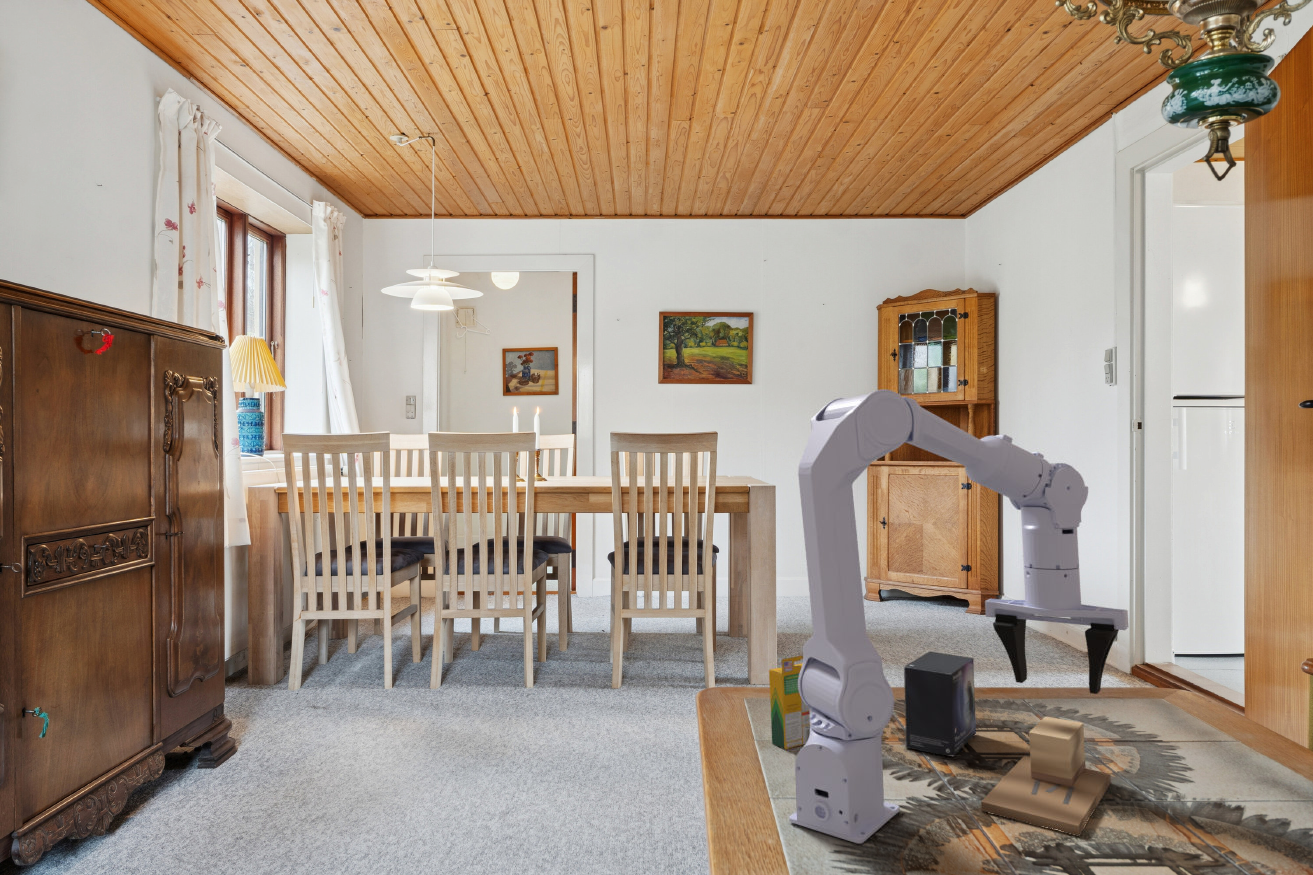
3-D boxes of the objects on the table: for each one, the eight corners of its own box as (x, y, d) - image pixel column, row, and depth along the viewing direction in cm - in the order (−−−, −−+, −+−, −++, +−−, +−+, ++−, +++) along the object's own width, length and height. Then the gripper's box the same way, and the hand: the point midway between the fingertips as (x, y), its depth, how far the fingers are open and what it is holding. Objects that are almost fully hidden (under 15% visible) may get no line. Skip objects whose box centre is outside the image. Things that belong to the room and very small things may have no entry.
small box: (956, 759, 92) (952, 672, 93) (904, 749, 96) (900, 666, 97) (979, 734, 101) (975, 655, 101) (930, 726, 105) (926, 649, 105)
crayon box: (812, 732, 103) (809, 647, 104) (827, 739, 101) (824, 651, 101) (770, 743, 99) (767, 654, 100) (785, 750, 97) (782, 659, 97)
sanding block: (1071, 786, 81) (1068, 739, 81) (1031, 777, 84) (1029, 732, 84) (1085, 767, 86) (1083, 722, 87) (1047, 759, 89) (1045, 716, 89)
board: (1078, 836, 72) (1078, 825, 72) (981, 811, 78) (981, 801, 78) (1110, 782, 84) (1110, 773, 85) (1024, 764, 90) (1024, 755, 90)
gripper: (1130, 566, 85) (1137, 688, 85) (995, 559, 95) (1001, 669, 94) (1118, 573, 80) (1126, 703, 79) (977, 565, 90) (983, 681, 89)
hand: (1057, 685), depth 86 cm, fingers open, 7 cm apart
